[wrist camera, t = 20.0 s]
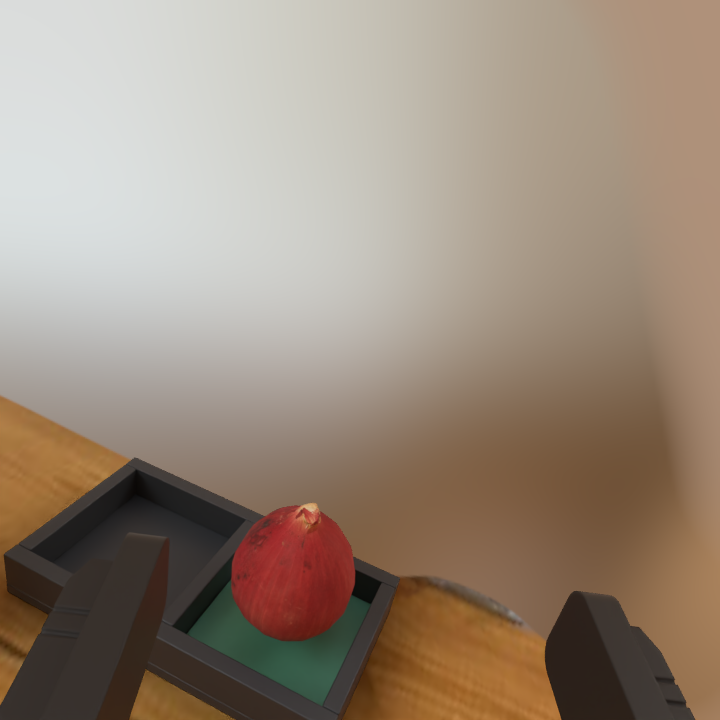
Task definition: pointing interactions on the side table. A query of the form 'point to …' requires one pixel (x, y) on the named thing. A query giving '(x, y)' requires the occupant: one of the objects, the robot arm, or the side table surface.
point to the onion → (293, 573)
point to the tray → (206, 598)
